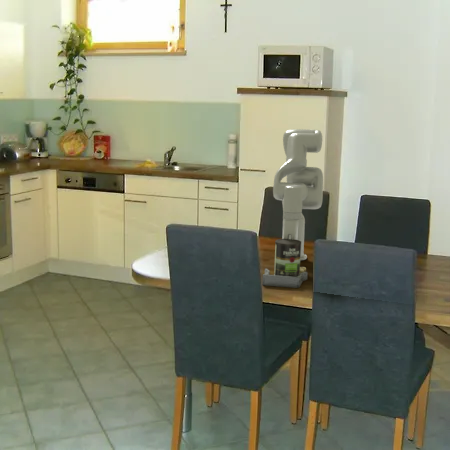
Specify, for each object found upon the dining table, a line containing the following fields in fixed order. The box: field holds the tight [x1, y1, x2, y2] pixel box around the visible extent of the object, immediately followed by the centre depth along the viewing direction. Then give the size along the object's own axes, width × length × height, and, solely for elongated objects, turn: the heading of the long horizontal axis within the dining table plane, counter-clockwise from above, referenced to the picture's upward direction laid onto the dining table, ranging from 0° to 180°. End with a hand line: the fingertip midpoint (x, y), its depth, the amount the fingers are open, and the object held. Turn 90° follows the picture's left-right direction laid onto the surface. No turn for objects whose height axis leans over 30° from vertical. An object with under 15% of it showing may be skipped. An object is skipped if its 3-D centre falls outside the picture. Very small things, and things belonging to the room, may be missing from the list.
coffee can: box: [273, 238, 301, 277], centre depth 273 cm, size 10×10×14 cm
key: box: [300, 266, 307, 273], centre depth 280 cm, size 7×3×1 cm, turn 166°
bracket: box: [261, 268, 308, 289], centre depth 265 cm, size 13×17×4 cm
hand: (290, 259), depth 282 cm, fingers closed
